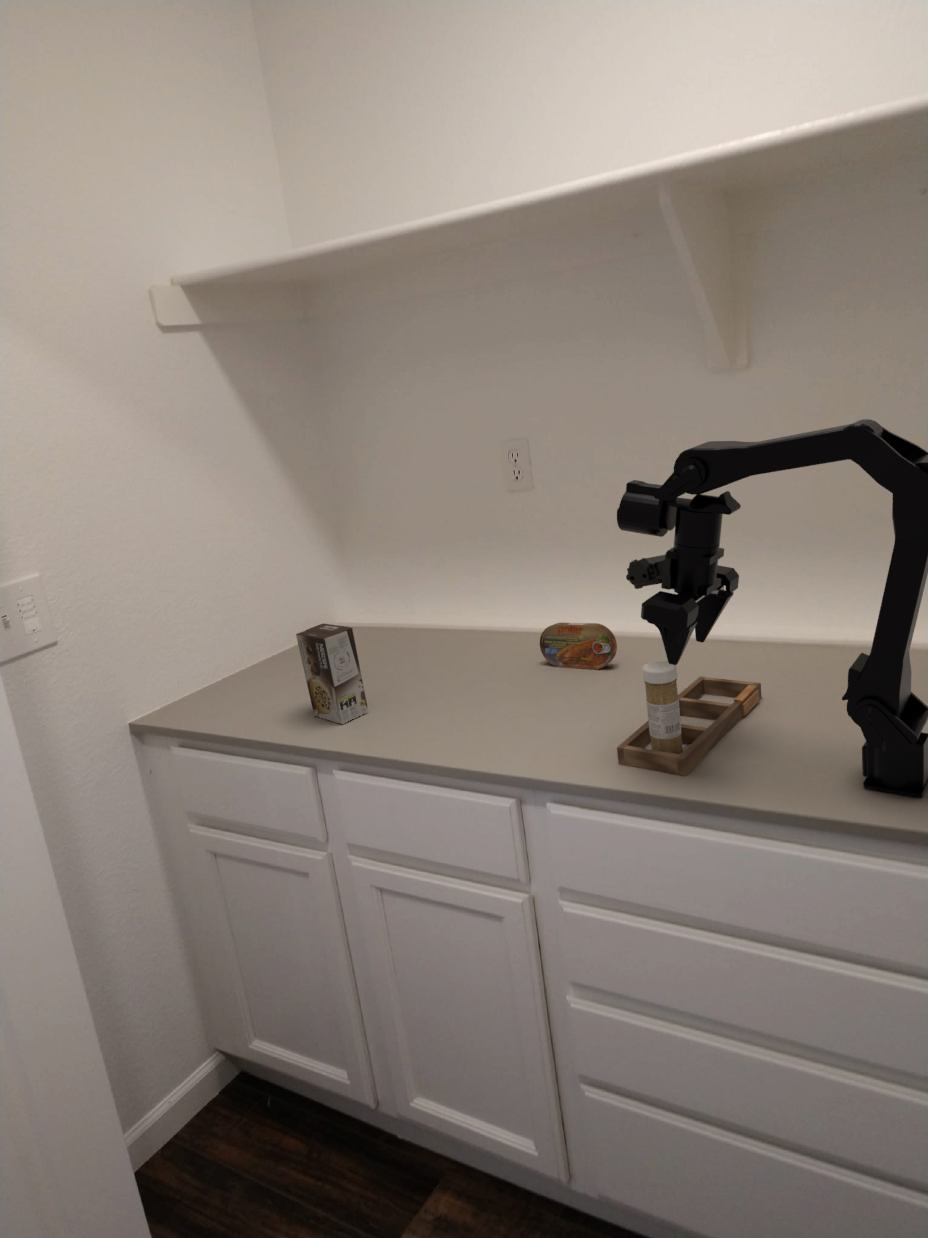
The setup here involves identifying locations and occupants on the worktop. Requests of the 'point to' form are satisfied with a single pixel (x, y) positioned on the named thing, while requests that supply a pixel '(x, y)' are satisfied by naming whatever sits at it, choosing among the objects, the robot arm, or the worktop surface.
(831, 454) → the robot arm
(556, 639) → the tin
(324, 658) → the coffee box
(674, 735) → the sprinkles bottle
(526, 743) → the worktop surface
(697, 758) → the rack
